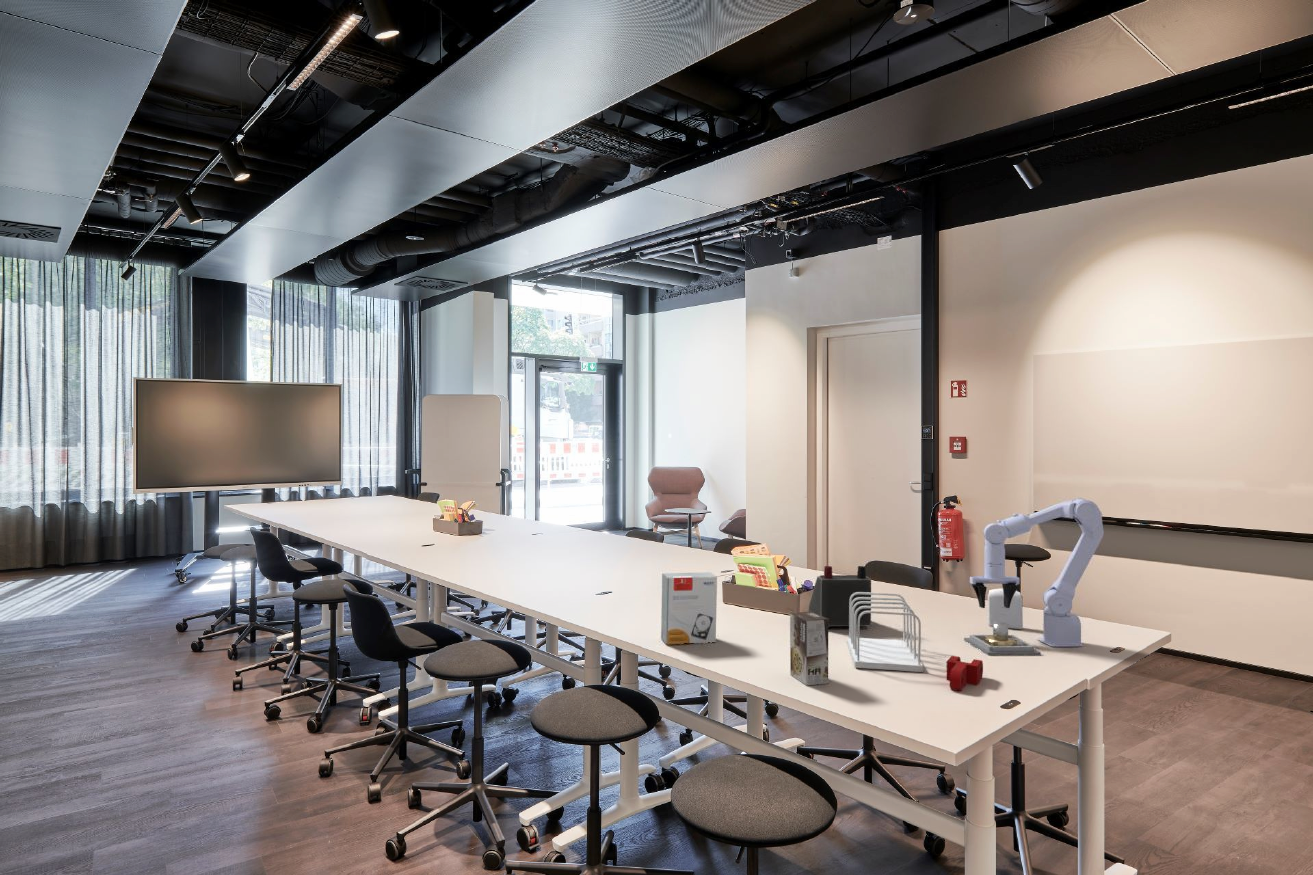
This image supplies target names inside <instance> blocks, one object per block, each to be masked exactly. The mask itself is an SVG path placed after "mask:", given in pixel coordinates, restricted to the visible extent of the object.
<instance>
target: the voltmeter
mask: <svg viewBox="0 0 1313 875" xmlns="http://www.w3.org/2000/svg"><path fill="white" fill-rule="evenodd" d="M823 570H824V571H823V575H822V574H821V575H819V576H816V580H815V584H814V587H813V589H812V594H811V596H810V600H809V603H808V611H811V612H814V613H816V614H818V615H821V616H823V617H825V618H827V619H829V621H828V628H829V629H830V627H842V626H843V627H849V600H850V597H851V595H852V594H854V593H856V592H869V593H872V578H870V577H868V576H867V572H866V566H864V565H858V566H857V572H856V574H857V575H856V574H854V575H852V574H851V575H850V574H847V575H843V574H841V575H840V574H839V575H838V574H837V575H835V574H833V566H831V565H830V566H829V565H825V566H824V569H823ZM857 597H872V595H866V594H857V595H854V596H853V597H852V600H851V602H852V601H853V600H854V599H855V598H857ZM860 601H872V600H866V599H859V600H856V601H855V602H854V603H853V606H854V605H855V604H856V603H857V602H860ZM853 606H852V609H853ZM861 606H872V604H858V605H857V606H856V607H855V609H854V615H855V611H856V610H857V609H858V608H859V607H861ZM864 611H872V608H863V609H860V610H859V611H858V612H857V616H856V624H857V627H858V617H859V615H860V614H861V613H862V612H864ZM871 626H872V613H866V614H863V615H862V616H861V618H860V630H866V629H865V628H866V627H871Z"/></svg>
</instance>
